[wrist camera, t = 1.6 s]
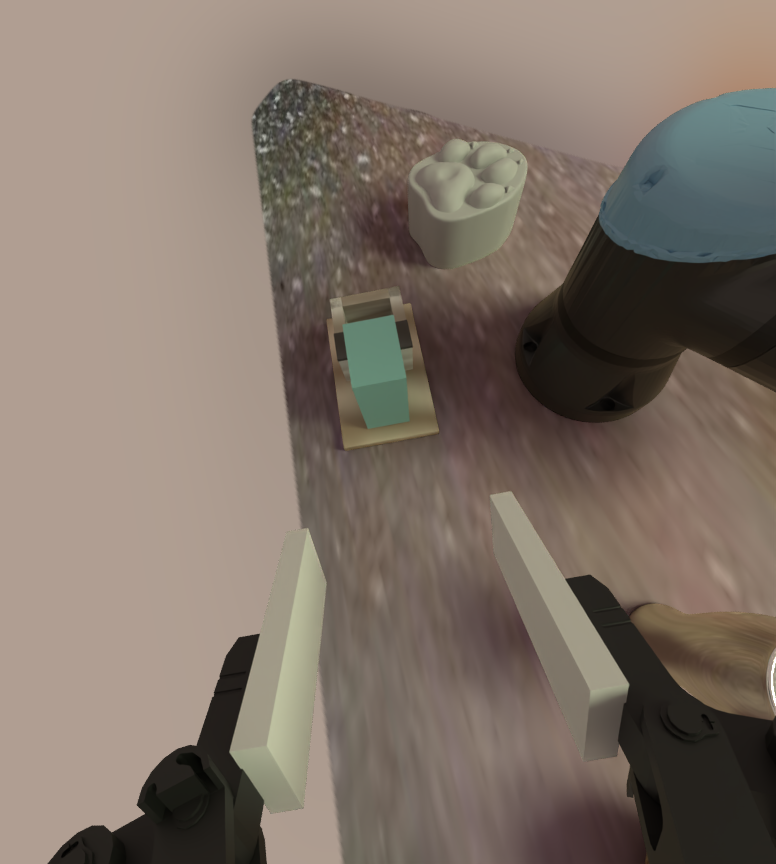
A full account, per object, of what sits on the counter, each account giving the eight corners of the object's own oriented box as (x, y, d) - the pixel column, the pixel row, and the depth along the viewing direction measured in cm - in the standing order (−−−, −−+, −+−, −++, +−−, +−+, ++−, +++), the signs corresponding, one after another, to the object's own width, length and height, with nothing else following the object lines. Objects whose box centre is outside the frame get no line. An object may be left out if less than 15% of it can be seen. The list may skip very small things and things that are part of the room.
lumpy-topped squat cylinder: (400, 220, 50) (397, 154, 42) (489, 183, 51) (502, 111, 43) (437, 278, 47) (441, 218, 39) (531, 236, 48) (554, 170, 40)
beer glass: (657, 705, 32) (848, 822, 18) (601, 623, 34) (731, 668, 20) (723, 660, 32) (960, 737, 18) (664, 582, 35) (835, 597, 20)
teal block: (409, 421, 40) (406, 377, 30) (367, 429, 40) (351, 388, 31) (399, 370, 42) (393, 314, 32) (359, 377, 42) (342, 324, 33)
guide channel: (438, 433, 41) (441, 413, 35) (345, 450, 41) (333, 433, 35) (410, 308, 46) (409, 273, 40) (328, 324, 46) (315, 291, 40)
